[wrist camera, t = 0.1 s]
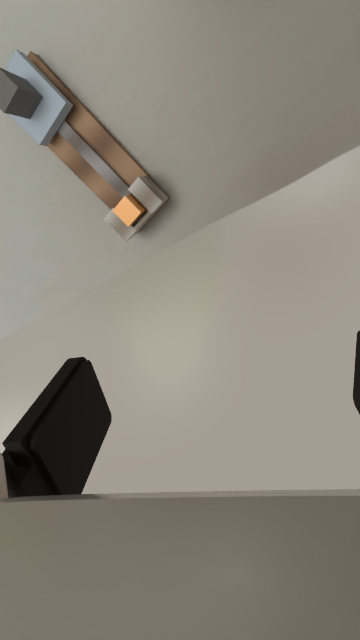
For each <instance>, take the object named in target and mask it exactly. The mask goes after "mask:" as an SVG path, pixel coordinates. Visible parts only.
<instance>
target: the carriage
mask: <svg viewBox="0 0 360 640" xmlns="http://www.w3.org/2000/svg"><path fill="white" fill-rule="evenodd" d="M72 107H73V105H72V104H71V103H70V101H69V100H68V99H67V98H66V97H65V96H64V95H63V94H62V93H61V92H60V91H59V90H58V89H57V88H56V87H55V86H54V85H53V83H52V82H51V81H50V80H49V79H48V78H47V77H46V76H45V75H44V74H43V73H42V72H41V71H40V70H39V69H38V68H37V67H36V65H35V64H34V63H33V62H32V61H31V60H30V59H29V58H28V57H27V56H26V55H25V54H23V53H21V52H20V51H18V50H16V49H15V51H14V53H13V55H12V57H11V59H10V61H9V63H8V65H7V67H6V69H5V70H4V69H2V68H0V109H1V110H2V111H3V112H4V113H7V114H9V115H10V116H11V117H12V118H13V119H14V120H15V121H16V122H17V123H18V124H19V125H20V126H21V127H22V128H23V129H24V130H25V131H26V132H27V133H28V134H29V135H30V136H31V137H32V138H33V139H34V140H35V141H36V142H37V143H38V144H39V145H45V146H48V144H49V143H50V141H51V140H52V138H53V136H54V135H55V133H56V132H57V130H58V129H59V127H60V125H61V124H62V122H63V121H64V119H65V118H66V116H67V115H68V113H69V111H70V110H71V108H72Z"/></svg>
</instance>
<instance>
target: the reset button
mask: <svg viewBox="0 0 360 640" xmlns="http://www.w3.org/2000/svg"><path fill="white" fill-rule="evenodd" d="M146 210H147V209H146V208H145V207H144V206H143V204H142V203H141V202H140V201H139V200H138V199H137V198H136V197H135V196H134V195H133V194H129V195H126V196H124V197H123V199H122V200H121V201H120V202H119V203H118V205H117V206H116V207H115V208H114V209H113V212H114V213H115V214H116V215H117V216H118V217H119V218H120V219H121V220H122V221H123V222H124V223H125V224H126V225H127V226H128V227H129V226H130V225H132V224H133V223H135V222H136V221H137V220H138V219H139V218H140V216H141V215H142V214H143V213H144V212H145V211H146Z"/></svg>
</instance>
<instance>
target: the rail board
mask: <svg viewBox="0 0 360 640" xmlns="http://www.w3.org/2000/svg"><path fill="white" fill-rule="evenodd" d="M27 57H28V58H29V59H30V60H31V61H32V62H33V63H34V64H35V65H36V67H37V68H38V69H39V70H40V71H41V72H42V73H43V74H44V75H45V76H46V77H47V78H48V79H49V80H50V81H51V82H52V83H53V85H54V86H55V87H56V88H57V89H58V90H59V91H60V92H61V93H62V94H63V95H64V96H65V97H66V98H67V99H68V100H69V101H70V103H71V104H72V105H73V107H72V108H71V110H70V111H69V113H68V115H67V116H66V118H65V119H64V121H63V122H62V124H61V125H60V127H59V129H58V130H57V132H56V133H55V135H54V136H53V138H52V140H51V141H50V143H49V144H48V146H47V147H48V148H49V149H50V150H51V151H52V152H53V153H54V154H55V155H56V156H57V157H58V158H59V159H60V160H62V161H63V162H64V163H65V164H66V165H67V166H68V167H69V168H70V169H71V170H72V171H73V172H74V173H75V174H76V175H77V176H78V177H79V178H80V179H81V180H82V181H83V182H84V183H85V184H86V185H87V186H88V187H89V188H90V189H91V190H92V191H93V192H94V193H95V194H96V195H97V196H98V197H99V198H100V199H101V200H102V201H103V202H104V203H105V204H106V205H107V206H108V207H109V208H110V209H111V210H110V212H109V213H108V214H107V215H106V216H105V218H104V220H105V221H106V222H107V223H108V224H109V225H110V226H111V227H112V228H113V229H114V230H115V231H116V232H117V233H118V234H120V235H121V236H122V237H123V238H124V239H125V240H126V241H128V240H129V239H130V238H131V237H132V236H134V235H135V234H136V233H137V232H138V231H139V230H140V229H141V228H142V227H143V226H144V225H145V224H146V223H147V221H148V220H149V219H150V218H151V217H152V216H153V215H154V214H155V213H156V212H157V210H158V209H159V208H160V207H161V206H162V205H163V204H164V203H165V202H166V201H167V199H168V198H169V196H168V195H167V194H166V193H165V192H164V191H163V190H162V188H161V187H160V186H159V185H158V184H157V183H156V182H155V181H154V180H153V179H152V178H151V177H150V176H149V174H148V173H147V172H146V171H145V170H144V169H143V168H142V167H141V166H140V165H139V164H138V163H137V162H136V161H135V159H134V158H133V157H132V156H131V155H130V154H129V153H128V152H127V151H126V150H125V149H124V148H123V147H122V146H121V144H120V143H119V142H118V141H117V140H116V139H115V138H114V137H113V136H112V135H111V134H110V133H109V132H108V131H107V129H106V128H105V127H104V126H103V125H102V124H101V123H100V122H99V121H98V120H97V119H96V118H95V117H94V116H93V114H92V113H91V112H90V111H89V110H88V109H87V108H86V107H85V106H84V105H83V104H82V103H81V102H80V101H79V99H78V98H77V97H76V96H75V95H74V94H73V93H72V92H71V91H70V90H69V89H68V88H67V87H66V86H65V84H64V83H63V82H62V81H61V80H60V79H59V78H58V77H57V76H56V75H55V74H54V73H53V72H52V71H51V69H50V68H49V67H48V66H47V65H46V64H45V63H44V62H43V61H42V60H41V59H40V58H39V57H38V56H37V55H36V54H35V53H33V52H31V51H30V53H29V54H28V56H27ZM129 194H133V195H134V196H135V197H136V198H137V199H138V200H139V201H140V202H141V203H142V204H143V206H144V207H145V208H146V209H147V210H146V211H145V212H144V213H143V214H142V215H141V216H140V218H139V219H138V220H137V221H136V222H135V223H133V224H132V225H130V226H129V227H128V226H127V225H126V224H125V223H124V222H123V221H122V220H121V219H120V218H119V217H118V216H117V215H116V214H115V213H114V212H113V209H114V208H115V207H116V206H117V205H118V203H119V202H120V201H121V200H122V199H123V197H124V196H126V195H129Z"/></svg>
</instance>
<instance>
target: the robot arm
mask: <svg viewBox="0 0 360 640" xmlns="http://www.w3.org/2000/svg"><path fill="white" fill-rule="evenodd" d="M354 374H355V375H354V388H353V400H354V404H355V406H356V408H357V410H358V411H359V414H360V331H358V333H357V343H356V358H355V373H354ZM110 423H111V412H110V410H109V407H108V405H107V402H106V399H105V397H104V394H103V392H102V389H101V387H100V385H99V381H98V379H97V376H96V374H95V371H94V369H93V366H92V364H91V362H90V361H89V360H86V359H85V358H84V357H79V358H70V359H68V360H67V361H66V362H65V363H64V365H63V366H62V367H61V368H60V370H59V371H58V372H57V374H56V375H55V376H54V377H53V379H52V380H51V381H50V383H49V384H48V385H47V386H46V388H45V389H44V390H43V392H42V393H41V394H40V395H39V397H38V398H37V399H36V401H35V402H34V403H33V404H32V406H31V407H30V408H29V410H28V411H27V412H26V413H25V415H24V416H23V417H22V419H21V420H20V421H19V422H18V424H17V425H16V426H15V428H14V429H13V430H12V431H11V433H10V434H9V435H8V437H7V438H6V439H5V440H4V442H3V445H4V447H5V451H4V452H3V453H2V454H1V453H0V640H360V489H358V490H354V489H353V490H351V489H347V490H272V491H214V492H213V491H211V492H164V493H163V492H160V493H117V494H81V493H82V491H83V488H84V486H85V483H86V481H87V479H88V476H89V474H90V472H91V469H92V467H93V464H94V462H95V460H96V457H97V455H98V452H99V450H100V448H101V445H102V443H103V440H104V438H105V436H106V433H107V431H108V428H109V426H110Z"/></svg>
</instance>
